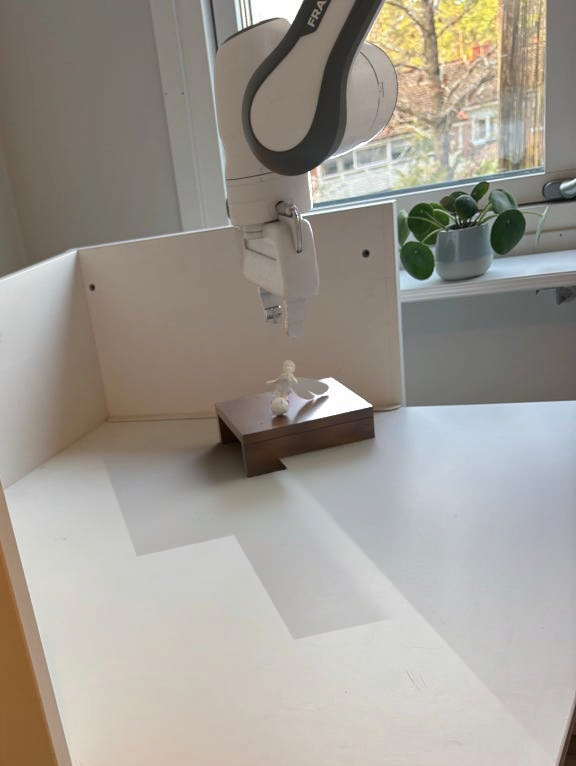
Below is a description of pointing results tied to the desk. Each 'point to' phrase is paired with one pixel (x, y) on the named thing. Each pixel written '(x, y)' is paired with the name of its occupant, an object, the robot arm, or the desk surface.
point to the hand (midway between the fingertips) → (284, 329)
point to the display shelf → (293, 425)
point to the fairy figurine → (297, 384)
